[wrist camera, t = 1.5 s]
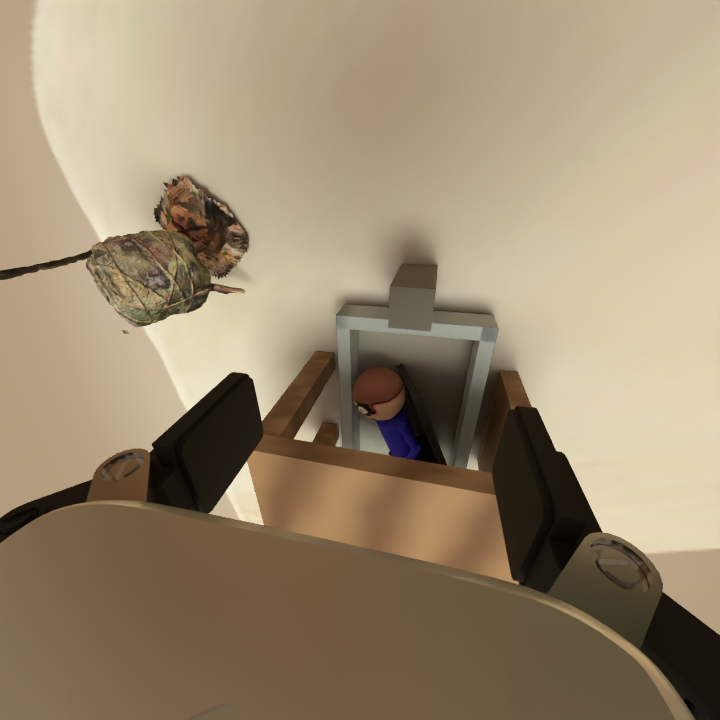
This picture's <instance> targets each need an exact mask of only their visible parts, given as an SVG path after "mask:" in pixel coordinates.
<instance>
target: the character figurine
mask: <svg viewBox="0 0 720 720" xmlns="http://www.w3.org/2000/svg"><path fill="white" fill-rule="evenodd" d="M396 367H397V369H398V372H399V374H400V377H401V378H400V377H399V375H398V374H396V373H395V372H394V371H392V370H390V369H388V368H384V367H374V368H370V369H368V370H366V371H364V372H363V373H362V374H361V375H360V376H359V377H358V378H357V380H356V382H355V384H354V387H353V400H354V403H355V405H356V407H357V409H358V410H359V411H360V412H361V413H362V414H363V415H364V416H366V417H368V418H370V419H373V420H376V422H377V424H378V427H379V429H380V431H381V433H382V435H383V437H384V439H385V441H386V443H387V445H388V448H389V450H390V452H389V455H390V456H394V457H400V458H406V459H412V460H418V461H423V462H429V463H435V464H441V465H447V464H446V461H445V459H444V456H443V453H442V451H441V448H440V446H439V443H438V441H437V438H436V436H435V433H434V430H433V428H432V425H431V423H430V420H429V418H428V415H427V412H426V410H425V407H424V405H423V402H422V400H421V397H420V395H419V393H418V391H417V390H416V388H415V386H414V384H413V383H412V381H411V379H410V377H409V376H408V374H407V372H406V371H405V369H404V367H403V365H402V364H401V365H398V366H396ZM406 391H407V394H408V396H409V399H410V401H411V404H412V406H413V408H414V411H415V413H416V416H417V418H418V421H419V423H420V426H421V428H422V431H423V433H422V434H420V435H418V436H416V435H415V432H414V430H413V428H412V425H411V423H410V420H409V418H408V416H407V413H406V411H405V409H404V407H403V405H404V403H405V399H406Z"/></svg>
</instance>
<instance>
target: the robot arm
mask: <svg viewBox="0 0 720 720" xmlns="http://www.w3.org/2000/svg"><path fill="white" fill-rule="evenodd" d="M263 432H264V431H263V426H262V421H261V416H260V411H259V406H258V402H257V397H256V392H255V387H254V383H253V380H252V378H250V377H249V375H248V374H244V373H236V372H232V373H230V374H229V375H228V376H227V377H226V378H225V379H223V380H222V381H221V382H220V383H219V384H218V385H217V386H216V387H215V388H213V389H212V390H211V391H210V392H209V393H208V394H207V395H206V396H205V397H203V398H202V399H201V400H200V401H199V402H198V403H197V404H196V405H195V406H193V407H192V408H191V409H190V410H189V411H188V412H187V413H186V414H185V415H183V416H182V417H181V418H180V419H179V420H178V421H177V422H176V423H175V424H173V425H172V426H171V427H170V428H169V429H168V430H167V431H166V432H164V434H162V435H161V436H160V437H159V438H158V439H157V440H156V441H155V442H153V443H152V446H153V448H154V449H153V450H152V451H151V452H150V453H149V452H148V451H147V450H144V449H130V450H126V451H123V452H120V453H117V454H116V455H114V456H112V457H110V458H108V459H107V460H106V461H104V462H103V463H102V464H101V465H100V466H99V467H98V468H97V469H96V472H95V473H94V476H93V479H92V480H90V481H87V482H84V483H81V484H79V485H76V486H73V487H70V488H67V489H65V490H62V491H59V492H56V493H53V494H51V495H48V496H45V497H42V498H40V499H37V500H34V501H31V502H29V503H26V504H24V505H22V506H19V507H17V508H15V509H13V510H11V511H10V512H8V513H7V514H5V515H4V516H3V517H1V518H0V720H720V635H719V634H717V633H716V632H715V631H713V630H712V629H711V628H709V627H708V626H707V625H705V624H704V623H703V622H702V621H700V620H699V619H697V618H696V617H695V616H694V615H692V614H691V613H690V612H688V611H687V610H686V609H684V608H683V607H682V606H680V605H679V604H677V602H675V601H674V600H673V599H671V598H670V597H669V596H667V595H666V594H665V593H663V592H662V590H663V583H662V580H661V577H660V574H659V572H658V571H657V569H656V568H655V566H654V565H653V563H652V562H651V561H650V560H649V559H648V558H647V557H646V556H645V554H644V553H643V552H641V551H640V550H639V549H637V548H636V547H635V546H634V545H632V544H631V543H629V542H627V541H625V540H624V539H622V538H620V537H617V536H615V535H612V534H609V533H603V532H602V530H601V528H600V526H599V524H598V522H597V520H596V518H595V516H594V514H593V512H592V509H591V507H590V505H589V503H588V501H587V499H586V497H585V495H584V493H583V491H582V489H581V487H580V484H579V482H578V480H577V478H576V476H575V474H574V472H573V470H572V468H571V466H570V464H569V461H568V459H567V457H566V456H565V454H563V453H562V452H558V451H556V450H555V448H554V445H553V443H552V441H551V439H550V436H549V434H548V432H547V430H546V428H545V425H544V423H543V421H542V419H541V416H540V414H539V412H538V410H537V408H534V407H525V406H516V407H515V409H509V411H508V414H507V417H506V421H505V424H504V428H503V431H502V435H501V438H500V442H499V445H498V449H497V452H496V456H495V459H494V463H493V467H492V478H493V483H494V488H495V494H496V499H497V504H498V510H499V515H500V520H501V525H502V531H503V536H504V541H505V546H506V552H507V557H508V562H509V567H510V573H511V577H512V579H513V580H514V581H518V582H519V585H518V584H515V583H511V582H508V581H504V580H501V579H498V578H494V577H490V576H486V575H481V574H477V573H473V572H469V571H465V570H461V569H457V568H452V567H448V566H444V565H440V564H436V563H431V562H427V561H422V560H418V559H413V558H409V557H405V556H400V555H396V554H391V553H387V552H382V551H378V550H373V549H369V548H364V547H360V546H355V545H351V544H346V543H342V542H337V541H333V540H328V539H323V538H319V537H314V536H310V535H305V534H300V533H296V532H291V531H287V530H282V529H277V528H273V527H268V526H264V525H259V524H254V523H249V522H245V521H240V520H235V519H231V518H226V517H221V516H216V515H212V514H208V513H210V512H211V511H212V510H213V508H214V507H215V506H216V504H217V503H218V501H219V500H220V498H221V496H223V494H224V493H225V491H226V490H227V488H228V487H229V486H230V484H231V483H232V481H233V480H234V478H235V477H236V475H237V474H238V473H239V471H240V470H241V468H242V467H243V465H244V464H245V463H246V461H247V460H248V458H249V457H250V455H251V454H252V453H253V451H254V450H255V448H256V447H257V445H258V444H259V442H260V441H261V439H262V437H263Z"/></svg>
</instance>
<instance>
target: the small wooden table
mask: <svg viewBox="0 0 720 720" xmlns="http://www.w3.org/2000/svg"><path fill="white" fill-rule="evenodd" d="M334 370H335V359H334V353H332V352H322V351H316V352H315V353H314V355H313V356H312V357H311V359H310V360H309V361H308V363H307V364H306V365H305V366H304V368H303V369H302V370H301V372H300V373H299V374H298V376H297V377H296V378H295V379H294V381H293V382H292V383H291V385H290V386H289V387H288V389H287V390H286V391H285V392H284V394H283V395H282V396H281V398H280V399H279V400H278V402H277V403H276V404H275V405H274V407H273V408H272V409H271V411H270V412H269V413H268V415H267V416H266V417H265V418H264V420H263V421H262V426H263V431H264V432H263V437H262V439H261V441H260V442H259V444H258V445H257V447H256V448H255V450H254V451H253V453H252V454H251V455H250V457H249V458H248V460H247V462H248V466H249V470H250V473H251V477H252V481H253V485H254V489H255V492H256V496H257V500H258V504H259V507H260V511H261V515H262V519H263V523H264V526H268V527H273V528H277V529H282V530H287V531H291V532H296V533H300V534H305V535H310V536H314V537H319V538H323V539H328V540H333V541H337V542H342V543H346V544H351V545H355V546H360V547H364V548H369V549H373V550H378V551H382V552H387V553H391V554H396V555H400V556H405V557H409V558H413V559H418V560H422V561H427V562H431V563H436V564H440V565H444V566H448V567H452V568H457V569H461V570H465V571H469V572H473V573H477V574H481V575H486V576H490V577H494V578H498V579H501V580H504V581H508V582H511V583H515V584H518V585H519V582H518V581H514V580H513V579H512V577H511V573H510V567H509V562H508V557H507V552H506V546H505V541H504V536H503V531H502V525H501V520H500V515H499V510H498V504H497V499H496V494H495V488H494V483H493V478H492V467H493V463H494V459H495V456H496V452H497V449H498V445H499V442H500V438H501V435H502V431H503V428H504V424H505V421H506V417H507V414H508V411H509V409H515V407H516V406H525V407H531V404H530V402H529V399H528V397H527V394H526V392H525V389H524V387H523V384H522V381H521V379H520V376H519V374H518V372H511V371H501V370H500V372H499V376H498V380H497V384H496V388H495V392H494V396H493V400H492V404H491V408H490V412H489V416H488V420H487V423H486V427H485V431H484V435H483V439H482V443H481V447H480V451H479V455H478V459H477V460H478V468H479V471H476V470H470V469H464V468H459V467H453V466H447V465H441V464H435V463H429V462H423V461H418V460H412V459H406V458H400V457H394V456H388V455H382V454H377V453H371V452H365V451H359V450H353V449H347V448H341V447H336V446H335V445H336V443H337V440H338V438H339V431H338V425H337V424H330V423H324V422H323V423H322V425H321V427H320V429H319V431H318V432H317V434H316V436H315V438H314V440H313V442H306V441H300V440H295V439H294V437H295V436H296V434H297V432H298V430H299V429H300V427H301V425H302V424H303V422H304V420H305V419H306V417H307V415H308V414H309V412H310V410H311V409H312V407H313V405H314V403H315V402H316V400H317V398H318V397H319V395H320V393H321V392H322V390H323V388H324V387H325V385H326V383H327V382H328V380H329V378H330V376H331V375H332V373H333V371H334Z"/></svg>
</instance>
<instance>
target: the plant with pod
mask: <svg viewBox="0 0 720 720" xmlns="http://www.w3.org/2000/svg"><path fill="white" fill-rule="evenodd" d="M178 179H179V181H180V182H179V181H177V180H175V179H173V181H172V185H171V184H168V183H164V182H163V183H164V184H165V186H166V187H167V188H168V190H169V191H167V190H165V192H166V194H167V195H166V194H164V199H163V198H162V196H161V201H160V205H159V204H158V205H159V206H158V205H157V204H156V205H157V207H158V208H154V215H155V217H154V218H156V221H155V222H159V224H160V225H161V227H163V229H165V230H166V231H165V230H158V231H157V230H156V231H141V232H139V233H136V234H127V235H123V236H116V237H108V238H107V239H106V240H105V241H104V242H99V243H97V244H96V245H93V246H92V247H93V248H92V249H91V250H89V251H88V252H85V253H82V254H79V255H77V256H73V257H67V258H64V259H61V260H56V261H50V262H47V263H42V264H36V265H33V266H29V267H20V268H13V269H8V270H2V271H0V280H5V279H10V278H13V277H16V276H21V275H23V274H26V273H34V272H37V271H38V270H40V269H41V270H46V269H53V268H56V267H59V266H63V265H68V264H69V263H75V262H77V261H78V260H85V259H86V258H87V262H86V267H87V269H88V270H89V271H90V273H91V275H92V276H93V278H94V281H95V283H96V285H97V287H98V289H99V291H100V292H101V293H102V295H103V296H104V297H105V298H106V300H107V301H108V302H109V303H110V304H111V305H112V306H113V307H114V309H115V310H116V311H117V312H118V313H119V315H120V316H121V317H122V318H124V319H125V320H126V321H128V322H129V323H130V324H132V325H133V326H135V327H139V326H140V327H141V326H146V325H150V324H151V323H156V322H158V321H161V320H164V319H166V318H167V317H168V316H170V315H173V314H180V313H189V312H192V311H194V310H197V309H198V308H200V307H202V305H203V304H204V303H205V302H206V299H207V297H208V294H209V292H210V291H217V292H218V293H219V292H220V293H224V294H228V293H245V290H243V289H240V288H231V287H227V286H223V285H218V284H212V283H210V282H211V275H212V276H214V275H215V277H216V276H217V277H218V279H219V277H223V275H224V276H225V277H226V274H228V273H227V272H230V269H232V268H233V267H234V266H235V265H237V264H236V262H235V261H240V259H239V258H242V257H241V256H243V255H242V253H243V254H245V252H247V250H246V249H245V248H248V245H247V243H248V239H247V237H246V236H247V235H246V232H244V230H245V229H244V230H242V226H241V227H240V224H238V222H237V221H235V218H234V217H233V213H230V212H228V210H227V207H226V205H224V206H223V203H222V205H221V204H220V202H216V201H215V200H214V199H213V198H209V199H208V197H207V195H206V193H205V191H204V189H196V187H195V185H194V184H193V185H192V183H191V181H190V180H189V179H188V177H187V176H186V177H178ZM239 227H240V228H239ZM241 252H242V253H241ZM210 273H211V275H210ZM123 333H125V334H128V332H127V331H123Z"/></svg>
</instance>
